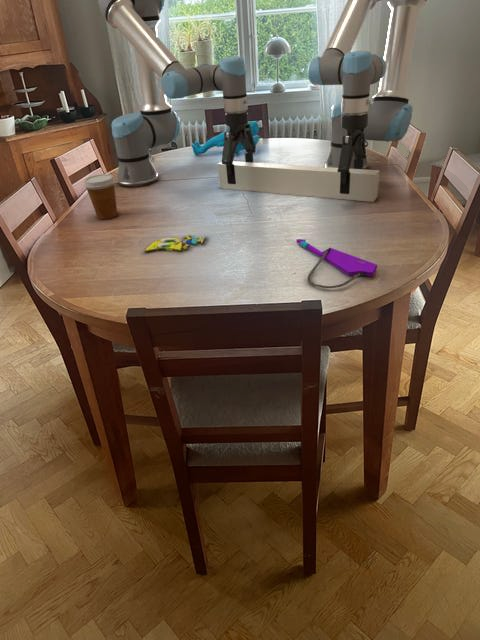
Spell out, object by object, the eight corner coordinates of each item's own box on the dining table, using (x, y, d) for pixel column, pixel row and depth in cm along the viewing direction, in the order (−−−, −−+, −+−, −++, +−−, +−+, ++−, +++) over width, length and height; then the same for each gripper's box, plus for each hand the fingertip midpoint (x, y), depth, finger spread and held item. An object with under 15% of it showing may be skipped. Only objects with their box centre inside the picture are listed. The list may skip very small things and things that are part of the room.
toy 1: (199, 248, 125) (143, 249, 127) (199, 251, 125) (144, 252, 127) (206, 233, 133) (154, 234, 135) (206, 236, 133) (154, 237, 136)
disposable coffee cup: (86, 219, 152) (76, 182, 146) (104, 209, 159) (95, 173, 153) (111, 222, 149) (102, 183, 142) (128, 211, 156) (120, 174, 149)
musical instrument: (357, 300, 100) (389, 251, 113) (357, 292, 99) (389, 243, 111) (259, 284, 113) (297, 241, 125) (258, 277, 112) (296, 234, 124)
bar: (220, 188, 169) (217, 164, 165) (226, 184, 172) (223, 160, 168) (373, 202, 146) (375, 174, 141) (377, 197, 149) (379, 170, 145)
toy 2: (197, 135, 216) (259, 115, 206) (205, 158, 221) (266, 140, 211) (186, 144, 203) (252, 124, 192) (195, 169, 208) (260, 150, 198)
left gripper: (227, 120, 143) (233, 189, 155) (263, 104, 161) (266, 168, 173) (206, 119, 147) (213, 188, 158) (243, 104, 165) (247, 167, 176)
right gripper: (354, 122, 127) (351, 200, 138) (379, 105, 145) (374, 175, 156) (327, 122, 130) (326, 198, 142) (354, 104, 148) (351, 174, 159)
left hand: (241, 177), depth 166 cm, fingers open, 13 cm apart
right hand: (351, 186), depth 149 cm, fingers open, 13 cm apart
